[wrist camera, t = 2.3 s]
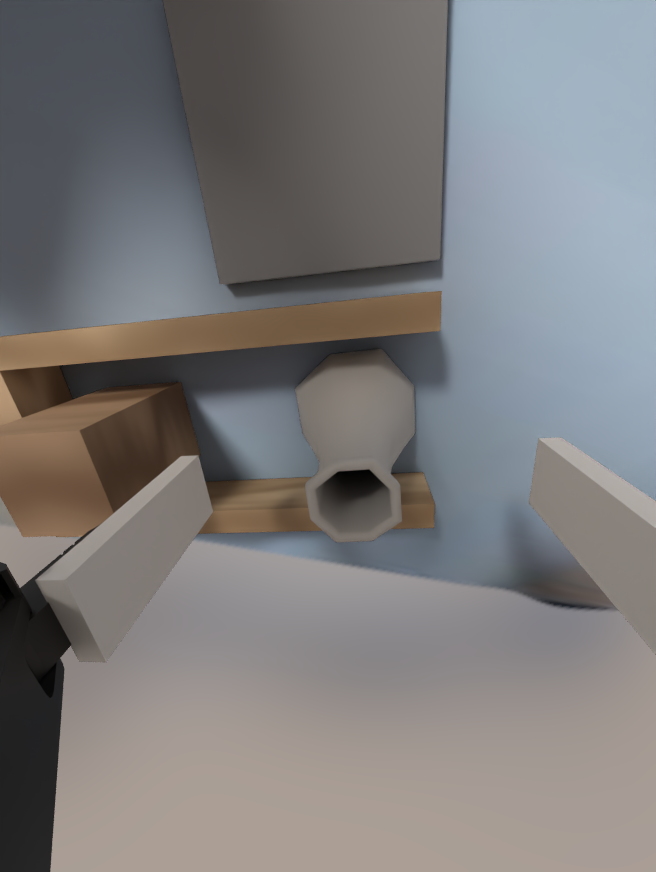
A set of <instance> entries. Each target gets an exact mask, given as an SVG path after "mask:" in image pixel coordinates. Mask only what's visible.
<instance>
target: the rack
mask: <svg viewBox="0 0 656 872" xmlns="http://www.w3.org/2000/svg"><path fill="white" fill-rule="evenodd" d="M441 293H442V291H436V292H423V293H413V294H403V295H394V296H384V297H374V298H365V299H355V300H346V301H336V302H326V303H317V304H307V305H298V306H288V307H278V308H269V309H259V310H250V311H240V312H230V313H221V314H211V315H202V316H192V317H182V318H173V319H163V320H154V321H144V322H134V323H125V324H115V325H105V326H96V327H86V328H77V329H67V330H57V331H48V332H38V333H29V334H19V335H10V336H1V337H0V426H1V425H4V424H7V423H10V422H12V421H15V420H18V419H21V418H24V417H26V416H29V415H32V414H35V413H37V412H40V411H43V410H46V409H48V408H51V407H54V406H57V405H59V404H62V403H65V402H68V401H70V400H73V399H72V396H71V394H70V391H69V389H68V386H67V384H66V381H65V379H64V376H63V374H62V371H61V369H60V367H59V365H69V364H80V363H91V362H102V361H113V360H124V359H135V358H146V357H157V356H168V355H179V354H191V353H202V352H213V351H224V350H235V349H246V348H257V347H268V346H279V345H290V344H301V343H312V342H323V341H334V340H345V339H356V338H367V337H378V336H389V335H400V334H411V333H423V332H434V331H440V324H441ZM391 475H392V476H393V477H394V478H395V479H396V480H397V481H398V482H399V484H400V490H401V511H402V522H400V523H399V524H397V525H396V526H394V527H393V528H391V529H409V528H434V514H435V503H434V500H433V498H432V495H431V492H430V489H429V487H428V484H427V481H426V479H425V476H424V473H423V472H417V473H394V474H391ZM310 478H312V477H302V478H278V479H255V480H232V481H209V482H205V483H206V486H207V490H208V494H209V498H210V502H211V505H212V509H213V513H212V514H211V515H210V517H209V518H208V520H207V521H206V522H205V524H204V525H203V527H202V528H201V530H200V531H199V532H198V534H203V533H244V532H286V531H323V530H322V529H320V528H319V527H318V526H317V525H316V524H315V523H314V522H313V521H311V520H310V514H309V509H308V503H307V497H306V491H305V483H306V482H307V481H308V480H309V479H310ZM79 536H83V535H79ZM79 536H56V537H79Z"/></svg>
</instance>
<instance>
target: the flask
mask: <svg viewBox="0 0 656 872" xmlns="http://www.w3.org/2000/svg"><path fill="white" fill-rule="evenodd" d="M295 392H296V398H297V404H298V410H299V416H300V422H301V428H302V433H303V435H304V437H305V439H306V440H307V442H308V443H309V445H310V446H311V448H312V450H313V451H314V453H315V455H316V457H317V459H318V461H319V463H320V464H319V469H318V473H317V474H315V475H314V476H313V477H312V478H310V479H309V480H308V481H307V482H306V483H305V491H306V497H307V503H308V509H309V514H310V520H311V521H313V522H314V523H315V524H316V525H317V526H318V527H319V528H320V529H322V530H323V531H324V532H325V533H326V534H327V535H328V536H329V537H330V538H332V539H333V540H334V541H335V542H360V541H373V540H375V539H376V538H378V537H379V536H381V535H382V534H384V533H385V532H387V531H388V530H390V529H391V528H393V527H394V526H396V525H397V524H399V523H400V522H402V511H401V490H400V484H399V482H398V481H397V480H396V479H395V478H394V477H393V476H392V475H391V470H392V466H393V465H394V463H395V461H396V460H397V458H398V456H399V455H400V453H401V452H402V450H403V448H404V447H405V446H406V445H407V443H408V442H409V441H410V440H411V438H412V437H413V436H414V434H415V392H414V385H413V384H412V383H411V382H410V380H409V379H408V378H407V377H406V376H405V375H404V374H403V373H402V371H401V370H400V369H399V368H398V367H397V366H396V365H395V363H394V362H393V361H392V360H391V359H390V358H389V357H388V355H387V354H386V353H385V352H384V351H383V350H382V349H373V350H364V351H355V352H346V353H337V354H330V355H329V356H328V357H327V358H326V359H325V360H324V361H322V362H321V363H320V364H319V365H318V366H317V367H316V368H315V369H314V370H313V371H312V372H311V373H310V374H309V375H308V376H307V377H306V378H305V379H304V380H303V381H302V382H301V383H300V384H299V385H298V386H297V387H296V388H295Z"/></svg>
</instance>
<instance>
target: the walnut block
mask: <svg viewBox="0 0 656 872" xmlns="http://www.w3.org/2000/svg"><path fill="white" fill-rule="evenodd" d="M195 455H198V456H199V457H200V456H201V454H200V450H199V447H198V443H197V439H196V436H195V432H194V428H193V424H192V421H191V417H190V413H189V410H188V406H187V402H186V399H185V395H184V391H183V388H182V384H181V382H170V383H157V384H145V385H133V386H120V387H108V388H104V389H101V390H98V391H95V392H93V393H90V394H87V395H84V396H81V397H79V398H76V399H73V400H70V401H68V402H65V403H62V404H59V405H57V406H54V407H51V408H48V409H46V410H43V411H40V412H37V413H35V414H32V415H29V416H26V417H24V418H21V419H18V420H15V421H12V422H10V423H7V424H4V425H1V426H0V497H1V498H2V500H3V502H4V504H5V506H6V507H7V509H8V511H9V513H10V515H11V516H12V518H13V520H14V522H15V524H16V525H17V527H18V529H19V531H20V532H21V534H22V536H23V537H39V536H79V535H84V534H86V533H87V532H88V531H90V530H91V529H93V528H95V527H96V526H98V525H100V524H102V523H103V522H104V521H105V520H106V519H108V518H109V517H110V516H111V515H112V514H114V513H115V512H116V511H117V510H118V509H119V508H121V507H122V506H123V505H124V504H125V503H126V502H128V501H129V500H130V499H131V498H132V497H134V496H135V495H136V494H137V493H138V492H139V491H141V490H142V489H143V488H144V487H145V486H146V485H148V484H149V483H150V482H151V481H152V480H154V479H155V478H156V477H157V476H158V475H159V474H161V473H162V472H163V471H164V470H165V469H166V468H168V467H169V466H170V465H171V464H172V463H174V462H175V461H176V460H177V459H178V458H179V457H181V456H195Z"/></svg>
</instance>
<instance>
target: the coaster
mask: <svg viewBox="0 0 656 872" xmlns="http://www.w3.org/2000/svg"><path fill="white" fill-rule="evenodd" d="M163 5H164V10H165V15H166V20H167V24H168V29H169V34H170V39H171V44H172V49H173V54H174V59H175V64H176V69H177V74H178V79H179V84H180V89H181V94H182V99H183V104H184V109H185V114H186V119H187V123H188V128H189V133H190V138H191V143H192V148H193V153H194V158H195V163H196V168H197V173H198V178H199V183H200V188H201V193H202V198H203V203H204V208H205V213H206V218H207V222H208V227H209V232H210V237H211V242H212V247H213V252H214V257H215V262H216V267H217V272H218V277H219V282H220V284H223V285H228V284H236V283H245V282H254V281H263V280H271V279H280V278H289V277H298V276H306V275H315V274H324V273H333V272H341V271H350V270H359V269H368V268H376V267H385V266H394V265H403V264H411V263H420V262H429V261H437V260H439V259H440V249H441V215H442V181H443V147H444V112H445V78H446V44H447V10H448V0H163Z"/></svg>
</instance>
